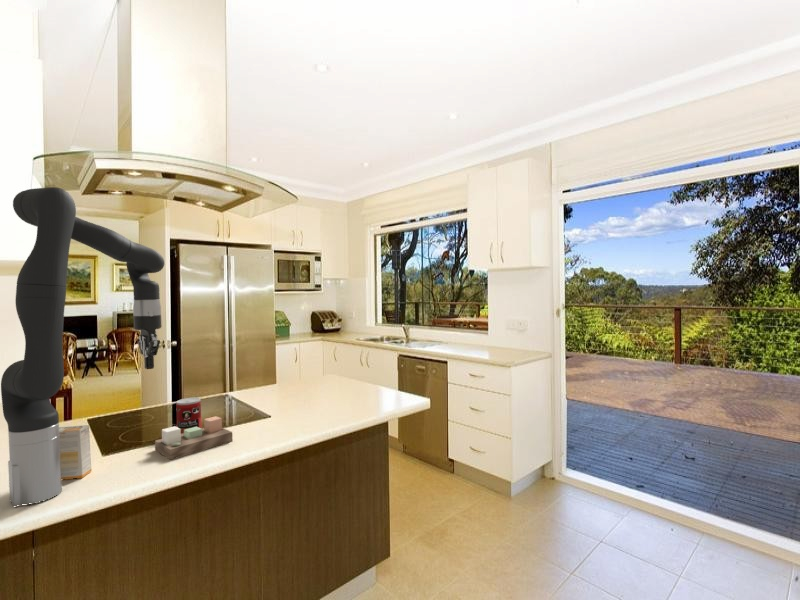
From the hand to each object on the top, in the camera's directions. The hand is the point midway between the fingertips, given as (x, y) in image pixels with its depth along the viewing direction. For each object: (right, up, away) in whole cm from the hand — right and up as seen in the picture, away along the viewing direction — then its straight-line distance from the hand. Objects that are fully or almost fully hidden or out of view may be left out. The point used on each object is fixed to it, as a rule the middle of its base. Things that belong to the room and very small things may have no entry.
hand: (149, 368), depth 133 cm
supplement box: (-9, -26, -20) cm, 34 cm away
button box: (+14, -25, +1) cm, 28 cm away
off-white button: (+9, -22, -3) cm, 24 cm away
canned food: (+5, -25, +15) cm, 29 cm away
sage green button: (+13, -24, +2) cm, 27 cm away
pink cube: (+17, -22, +6) cm, 29 cm away
